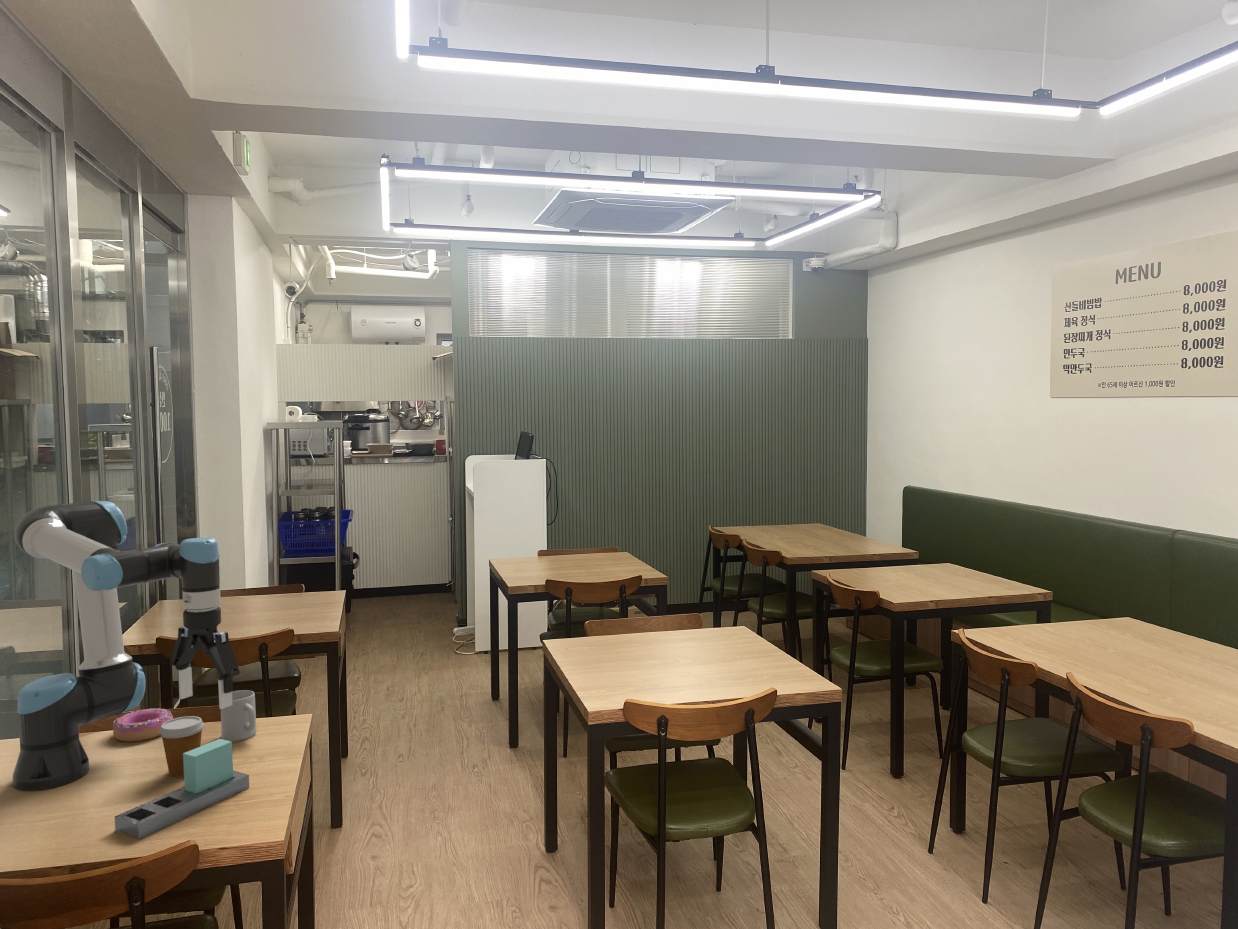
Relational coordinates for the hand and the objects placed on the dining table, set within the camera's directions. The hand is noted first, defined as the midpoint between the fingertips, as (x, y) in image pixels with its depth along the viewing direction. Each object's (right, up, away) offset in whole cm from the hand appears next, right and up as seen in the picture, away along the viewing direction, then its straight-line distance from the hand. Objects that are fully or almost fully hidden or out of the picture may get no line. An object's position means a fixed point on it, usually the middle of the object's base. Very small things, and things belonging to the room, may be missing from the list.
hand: (205, 702), depth 186 cm
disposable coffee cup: (-13, -21, +15) cm, 29 cm away
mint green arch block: (0, -21, +1) cm, 21 cm away
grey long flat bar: (-2, -22, -4) cm, 22 cm away
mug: (-8, -20, +36) cm, 42 cm away
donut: (-37, -20, +40) cm, 58 cm away
